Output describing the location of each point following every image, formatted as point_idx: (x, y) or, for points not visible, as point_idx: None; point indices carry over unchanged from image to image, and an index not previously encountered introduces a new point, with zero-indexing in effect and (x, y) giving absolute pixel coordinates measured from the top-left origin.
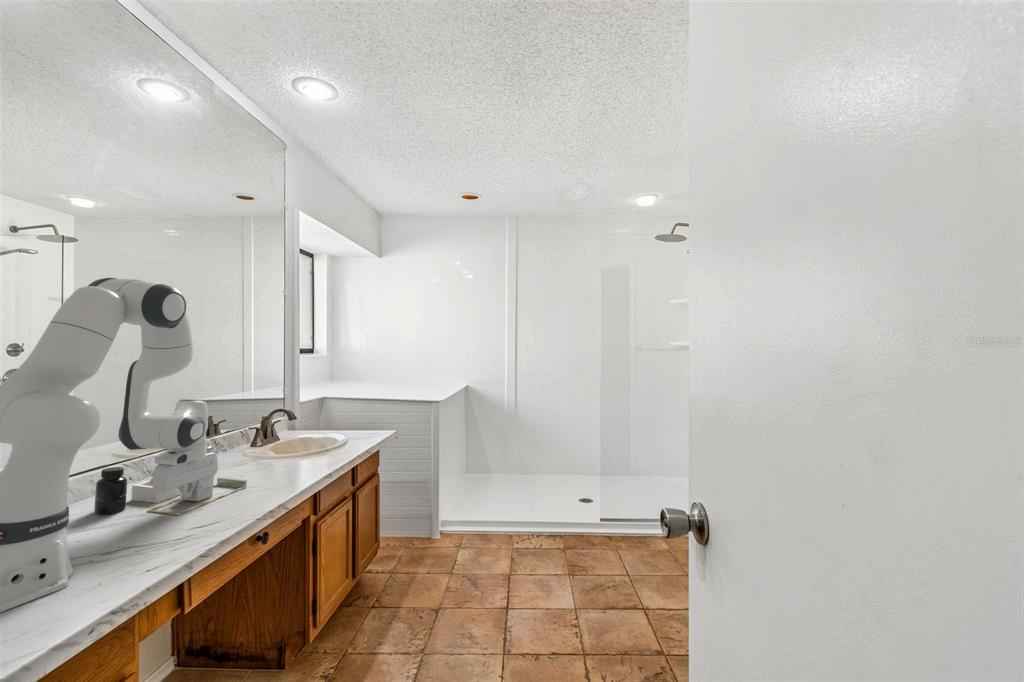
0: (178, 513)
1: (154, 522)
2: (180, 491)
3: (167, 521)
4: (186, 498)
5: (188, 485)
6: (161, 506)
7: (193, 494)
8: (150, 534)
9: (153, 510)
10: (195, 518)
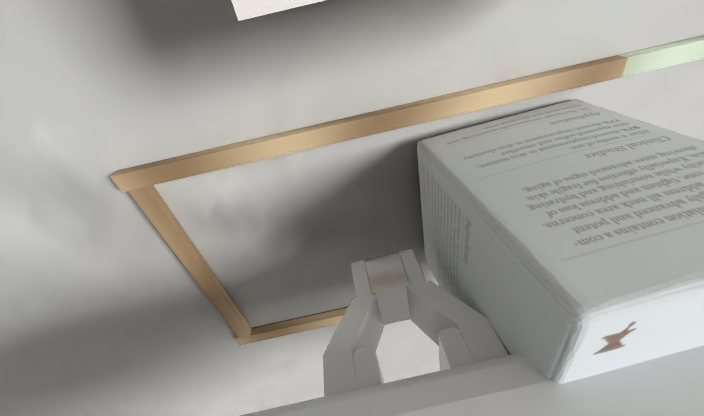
0: (248, 335)
1: (120, 338)
2: (346, 317)
3: (176, 357)
4: (423, 201)
5: (450, 324)
6: (243, 162)
7: (441, 269)
8: (77, 410)
9: (157, 213)
10: (274, 385)
